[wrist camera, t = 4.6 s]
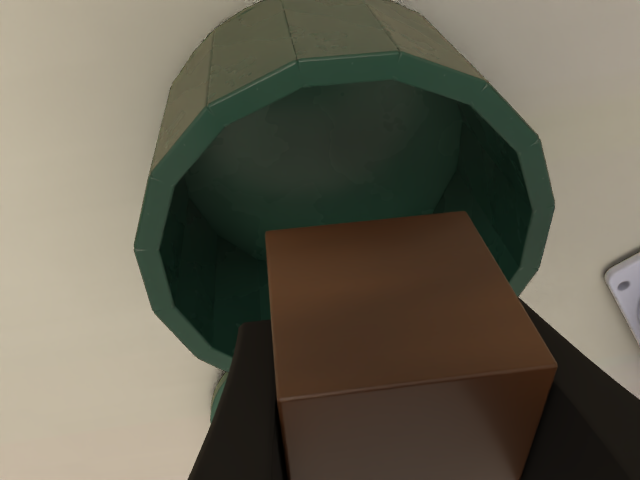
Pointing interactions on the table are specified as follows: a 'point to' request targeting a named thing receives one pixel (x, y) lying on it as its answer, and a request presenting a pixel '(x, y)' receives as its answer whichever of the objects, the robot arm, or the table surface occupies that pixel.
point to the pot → (324, 155)
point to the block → (401, 353)
